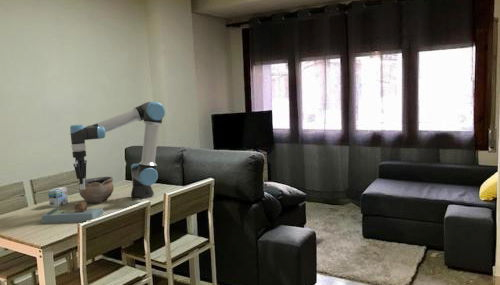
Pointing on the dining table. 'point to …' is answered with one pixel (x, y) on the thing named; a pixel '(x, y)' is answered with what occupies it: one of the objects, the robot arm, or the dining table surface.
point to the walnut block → (80, 207)
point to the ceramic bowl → (97, 189)
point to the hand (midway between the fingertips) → (82, 189)
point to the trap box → (70, 216)
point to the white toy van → (58, 196)
